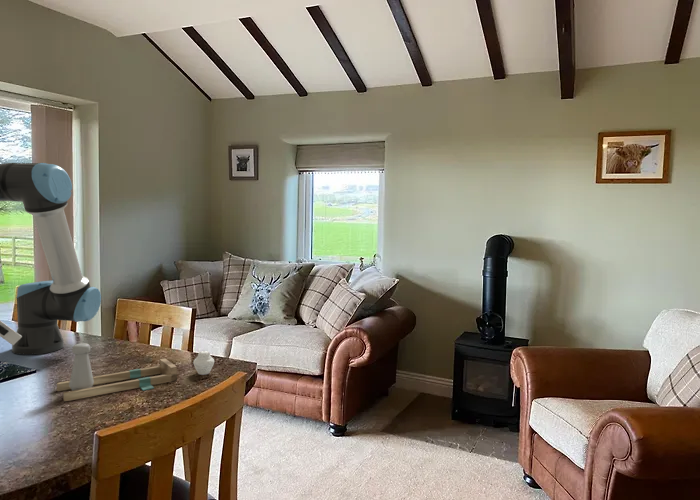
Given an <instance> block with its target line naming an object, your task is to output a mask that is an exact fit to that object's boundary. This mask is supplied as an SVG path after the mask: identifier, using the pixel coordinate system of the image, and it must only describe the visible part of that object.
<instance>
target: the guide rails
mask: <svg viewBox="0 0 700 500" xmlns="http://www.w3.org/2000/svg"><path fill="white" fill-rule="evenodd" d="M159 374H160V375H159ZM153 375H155V376H153ZM136 378H137V379H136ZM130 379H131V380H130ZM93 380H94V383H93V386H92V387H91V388H86V389H80V390H74V391H72V389H71V388H70V386H69V383H70V380H67V381H61V382H60V381H59V382H56V390H57V392H62V394H63V395H62V397H63V399H62V400H63V401H64V402H69V401H74V400H79V399H80V400H81V399H84V398H85V399H86V398H89V397H95V396H101V395H106V394H112V393H116V392H121V391H123V392H124V391H128V390H133V389H137V388H140V390H142V391H149V390H153V389H155V387H154V386H155V385H158V384H159V385H160V384H164V383H171V382H175V381H177V380H178V366H176V365H175V364H174V363H172V362H171V361H169V360H168V359H167V358H160V359H159V365H155V366H151V367H143V368H135V369H131V370H126V371H120V372H113V373H107V374H103V375H101V374H100V375H96V376H93ZM123 380H124V381H123ZM125 380H126V381H125ZM108 383H110V384H108ZM103 384H104V385H103ZM68 390H70V391H68Z"/></svg>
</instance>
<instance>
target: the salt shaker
mask: <svg viewBox="0 0 700 500" xmlns="http://www.w3.org/2000/svg"><path fill="white" fill-rule="evenodd" d="M90 351H91V345H90V344H89V343H85V342H82V343H81V342H80V343H76V344H74V345H73V346H72V348H71V353H72V354H73V355H74V360H73V365H72V369H71V374H70V379H69V381H70V383H69V386H70V388H71V389H70V390H71V391H74V390H80V389H86V388H91V387H94V385H93V383H94V380H93V377H94V375H93V372H92V366H91V361H90V355H89V353H90Z"/></svg>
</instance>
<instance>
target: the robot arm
mask: <svg viewBox="0 0 700 500" xmlns="http://www.w3.org/2000/svg"><path fill="white" fill-rule="evenodd" d="M72 190H73V184H72V180H71V178H70V176H69V174H68V172H67V171H66V170H65V169H64V168H63V167H61V166H59V165H57V164H53V163H46V162H6V163H0V202H20V203H23V207H24V208H23V209H24V210H25V212H26V213H27V214H30V215H32V217H33V219H34V220H33V221H34V224H35V227H36V231H37V233H38V236H39V239H40V243H41V247H42V249H43V253H44V257H45V259H46V262H47V265H48V266H47V267H48V269H49V273H50V276H51V279H52V280H41V281H34V282H28V283H27V282H26V283H24V284H23V283H22V284H19V286H18V287H17V290H16V291H17V292H16V297H15V299H16V309H17V310H16V312H17V330H16V331H15V329H14V328H11V327H10V326H9V325H7V324H6V323H5V322H3V321H2V320H0V338H2V339H3V340H4V341H6V342H7V343H9V344H10V345H11V351H12V353H13V354H15V355H24V356H25V355H26V356H27V355H28V356H29V355H40V354H47V353H48V354H49V353H52V352H56V351H59V350H61V349H63V348H64V345H65V344H64V337H63V336H62V333H61V330H60V327H59V325H58V321H66V322H67V321H69V322H76V323H78V322H89V321H91V320H93V318H95V316H96V315H97V314H98V312H99V310H100V307H101V304H102V303H101V302H102V294H101V290H99V288H97V287H95V286H91V284H90V280H89V278H88V277H87V276H84V275H83V274H82V271H81V267H80V264H79V261H78V260H79V259H78V256H77V253H76V248H75V245H74V242H73V238H72V235H71V231H70V226H69V223H68V220H67V216H66V213H65V208H66V207H67V206H68V205H69V204H68V201H69V200H70V198H71V197H72Z"/></svg>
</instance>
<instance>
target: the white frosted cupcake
mask: <svg viewBox="0 0 700 500" xmlns="http://www.w3.org/2000/svg"><path fill="white" fill-rule="evenodd" d="M192 362H193V366H194V369H195V370H196V372H197V374H198V375H200V376H201V375H203V376H205V375H209V374H210V373H211V371H212V369H213V367H214V364H215V359H214V357H212V356H211V353H210V351H207V350H202V351H198V353H197V356H196V358H195V359H194V360H193V361H192Z"/></svg>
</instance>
